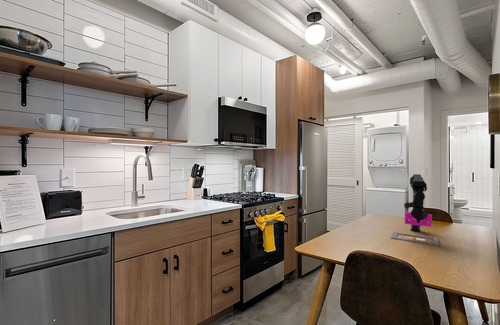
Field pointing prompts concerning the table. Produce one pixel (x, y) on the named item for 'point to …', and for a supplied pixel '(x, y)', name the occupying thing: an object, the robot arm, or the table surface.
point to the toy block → (414, 221)
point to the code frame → (435, 240)
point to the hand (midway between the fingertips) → (418, 221)
